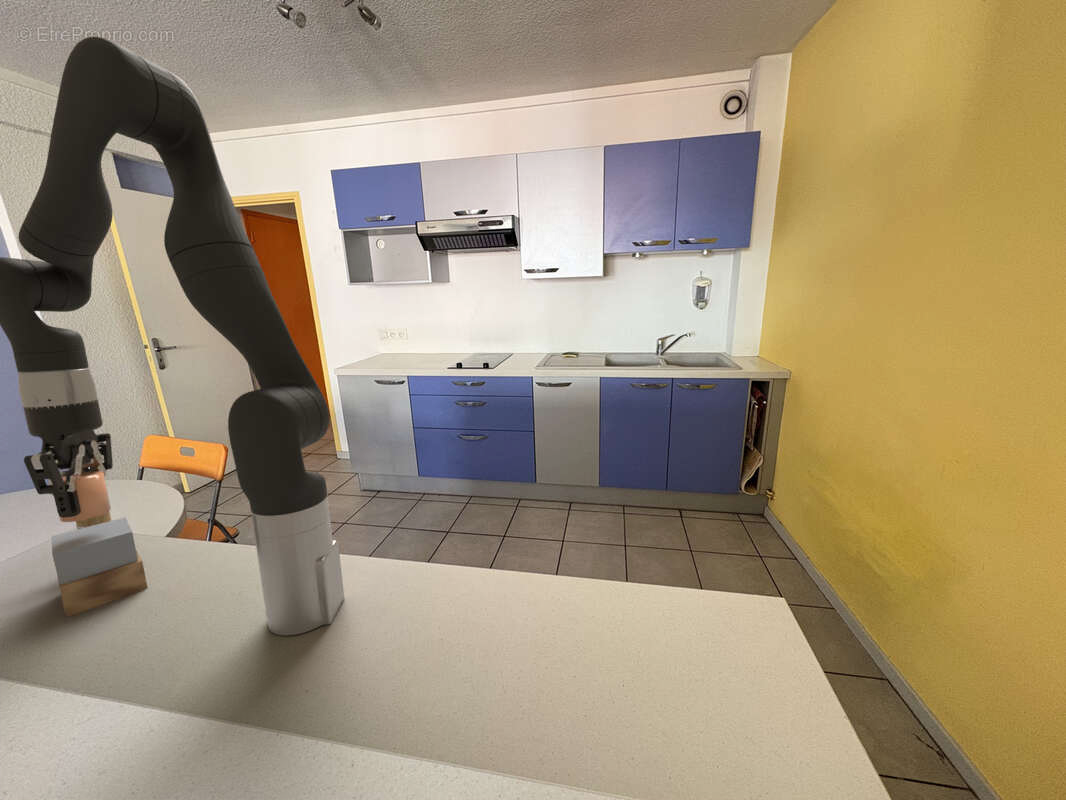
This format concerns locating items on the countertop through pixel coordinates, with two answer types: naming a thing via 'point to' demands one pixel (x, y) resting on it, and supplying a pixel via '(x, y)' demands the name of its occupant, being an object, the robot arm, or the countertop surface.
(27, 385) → the robot arm
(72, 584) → the walnut base block
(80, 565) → the slate top block
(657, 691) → the countertop surface
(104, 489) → the terracotta cylinder
